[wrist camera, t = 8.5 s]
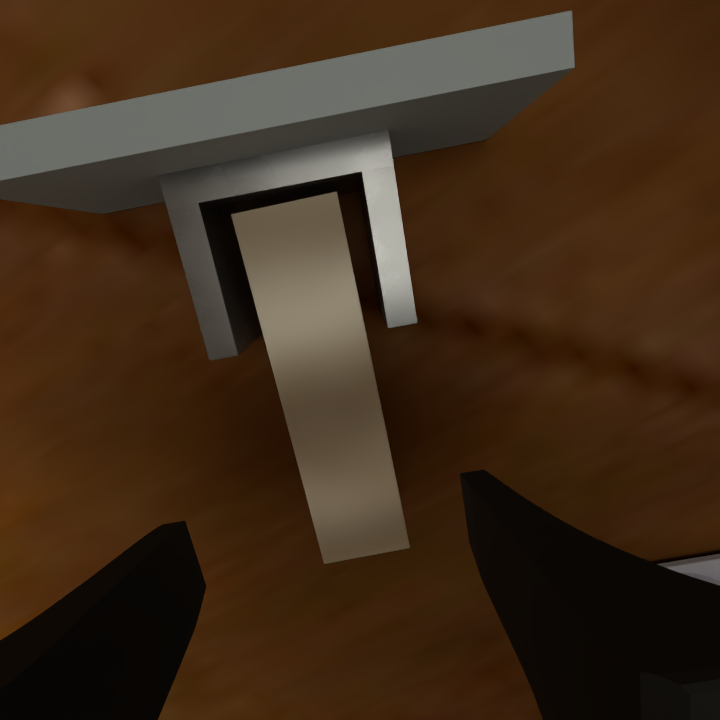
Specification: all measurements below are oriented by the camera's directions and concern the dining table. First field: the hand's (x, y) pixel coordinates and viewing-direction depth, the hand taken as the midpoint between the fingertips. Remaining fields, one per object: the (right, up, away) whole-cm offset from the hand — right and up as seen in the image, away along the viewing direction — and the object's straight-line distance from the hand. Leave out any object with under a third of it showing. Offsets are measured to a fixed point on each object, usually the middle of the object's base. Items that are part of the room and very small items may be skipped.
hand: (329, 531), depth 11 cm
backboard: (-2, +12, +6) cm, 14 cm away
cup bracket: (-1, +9, +7) cm, 11 cm away
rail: (0, +4, +9) cm, 10 cm away
